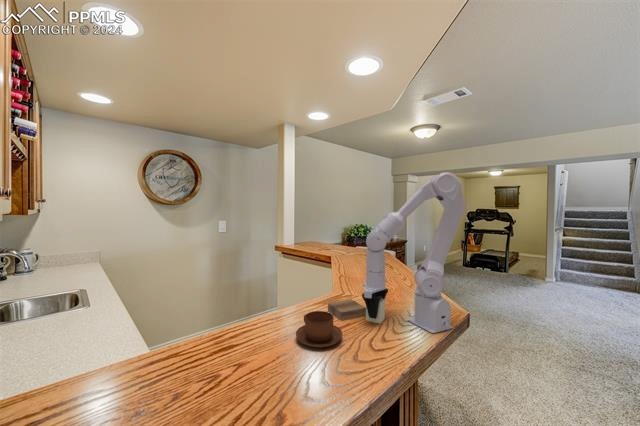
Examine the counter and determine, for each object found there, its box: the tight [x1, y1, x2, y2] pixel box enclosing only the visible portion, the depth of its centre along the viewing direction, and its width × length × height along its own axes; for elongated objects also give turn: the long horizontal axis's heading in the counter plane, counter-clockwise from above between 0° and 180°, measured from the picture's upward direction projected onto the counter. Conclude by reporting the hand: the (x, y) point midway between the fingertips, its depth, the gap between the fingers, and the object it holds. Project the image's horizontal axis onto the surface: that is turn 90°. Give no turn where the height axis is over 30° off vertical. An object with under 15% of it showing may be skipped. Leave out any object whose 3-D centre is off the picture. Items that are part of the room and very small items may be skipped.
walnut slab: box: [327, 298, 366, 322], centre depth 86 cm, size 9×9×3 cm
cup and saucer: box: [295, 310, 343, 348], centre depth 68 cm, size 12×12×6 cm
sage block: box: [365, 298, 386, 325], centre depth 81 cm, size 4×4×6 cm
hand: (375, 314), depth 81 cm, fingers closed on sage block, 4 cm apart
